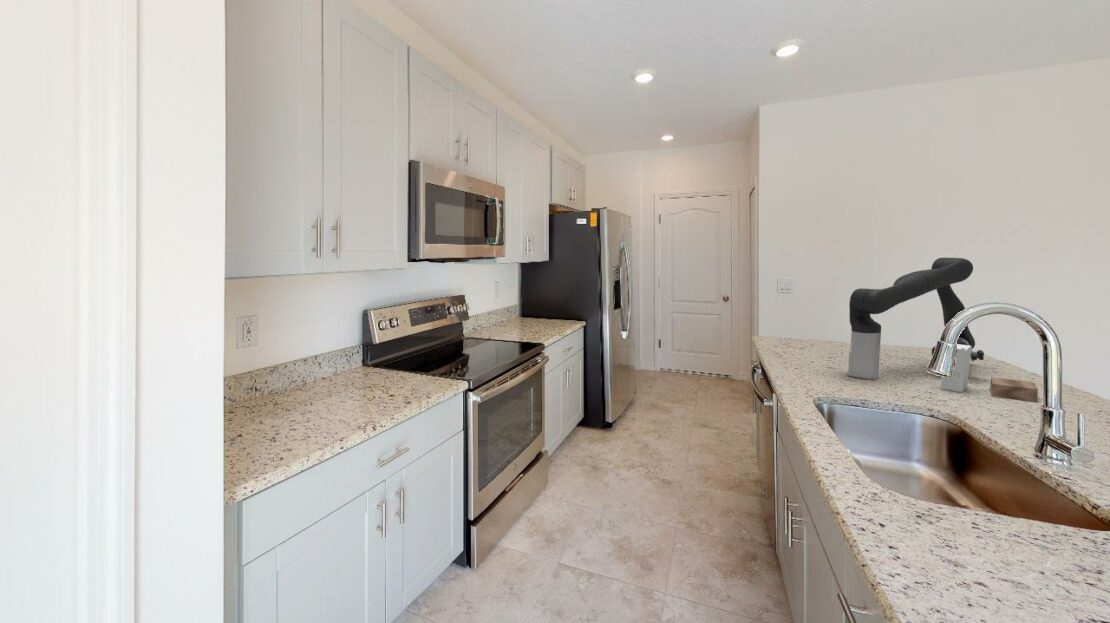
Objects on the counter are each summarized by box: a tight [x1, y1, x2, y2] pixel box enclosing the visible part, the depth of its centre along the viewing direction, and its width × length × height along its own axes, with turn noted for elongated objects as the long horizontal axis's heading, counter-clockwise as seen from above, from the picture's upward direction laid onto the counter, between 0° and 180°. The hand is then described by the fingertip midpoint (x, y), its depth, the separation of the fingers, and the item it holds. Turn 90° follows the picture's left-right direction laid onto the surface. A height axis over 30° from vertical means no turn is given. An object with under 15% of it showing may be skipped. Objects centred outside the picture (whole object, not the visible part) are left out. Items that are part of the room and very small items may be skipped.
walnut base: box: [989, 377, 1039, 403], centre depth 146 cm, size 10×10×4 cm
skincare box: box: [940, 344, 972, 393], centre depth 154 cm, size 8×6×15 cm
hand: (957, 356), depth 162 cm, fingers open, 8 cm apart
